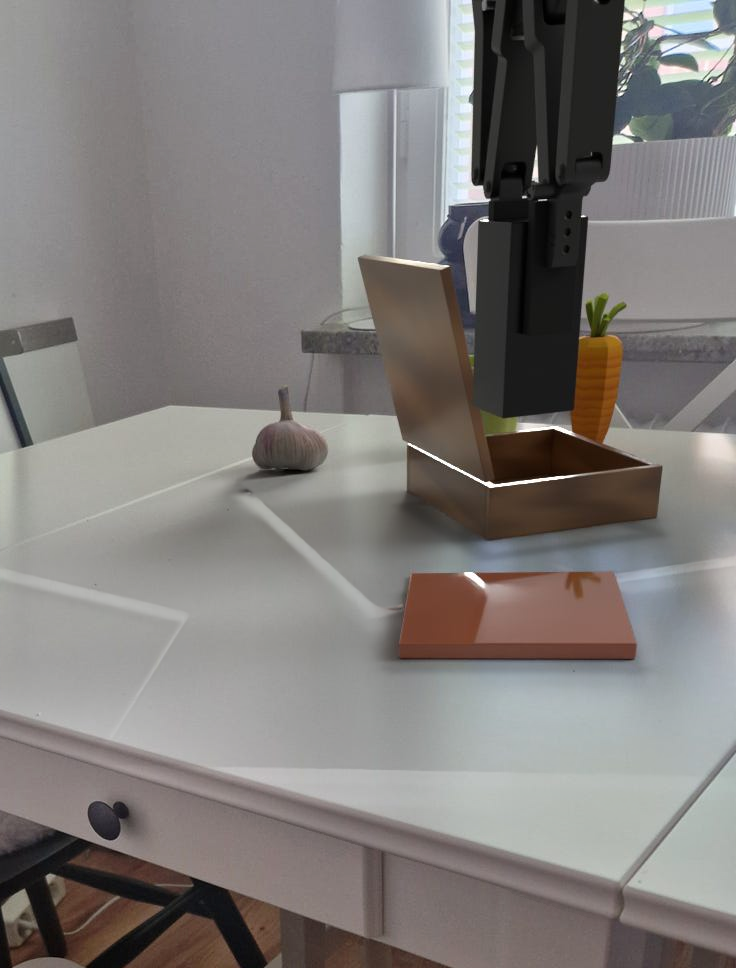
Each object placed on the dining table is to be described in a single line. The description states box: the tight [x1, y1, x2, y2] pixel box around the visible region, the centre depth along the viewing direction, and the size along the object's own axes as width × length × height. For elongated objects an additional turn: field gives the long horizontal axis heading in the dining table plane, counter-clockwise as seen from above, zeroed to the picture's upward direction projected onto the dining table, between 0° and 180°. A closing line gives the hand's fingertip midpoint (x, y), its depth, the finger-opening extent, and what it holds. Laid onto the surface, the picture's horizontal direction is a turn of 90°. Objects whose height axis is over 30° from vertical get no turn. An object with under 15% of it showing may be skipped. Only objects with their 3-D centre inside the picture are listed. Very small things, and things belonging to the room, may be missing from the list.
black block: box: [472, 215, 589, 418], centre depth 67 cm, size 4×4×10 cm
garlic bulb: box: [251, 384, 329, 471], centre depth 116 cm, size 8×7×8 cm
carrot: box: [569, 292, 627, 444], centre depth 108 cm, size 5×5×15 cm
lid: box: [357, 253, 495, 483], centre depth 91 cm, size 15×18×1 cm
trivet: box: [398, 570, 638, 660], centre depth 76 cm, size 14×14×1 cm
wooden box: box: [406, 425, 663, 542], centre depth 97 cm, size 14×18×5 cm
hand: (527, 327), depth 67 cm, fingers closed on black block, 4 cm apart
